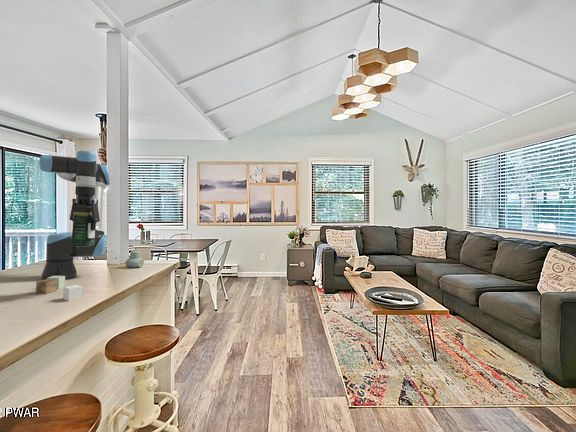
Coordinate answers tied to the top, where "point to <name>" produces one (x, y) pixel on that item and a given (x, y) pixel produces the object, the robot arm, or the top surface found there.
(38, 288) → the walnut block
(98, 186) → the robot arm
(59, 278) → the sage block
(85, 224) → the coffee jar
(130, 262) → the air freshener
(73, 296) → the off-white block
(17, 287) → the top surface
